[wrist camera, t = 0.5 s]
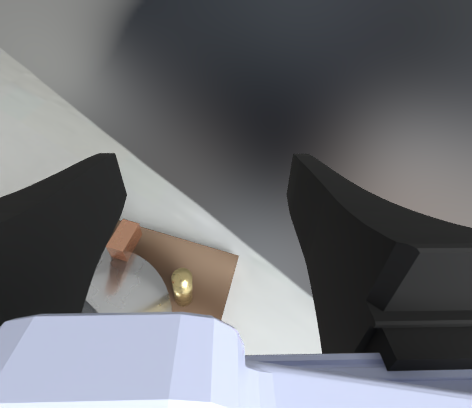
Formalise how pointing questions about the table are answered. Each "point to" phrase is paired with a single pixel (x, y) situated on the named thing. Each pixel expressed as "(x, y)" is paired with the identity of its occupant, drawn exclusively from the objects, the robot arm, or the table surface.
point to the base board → (190, 269)
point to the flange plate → (126, 278)
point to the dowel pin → (182, 286)
